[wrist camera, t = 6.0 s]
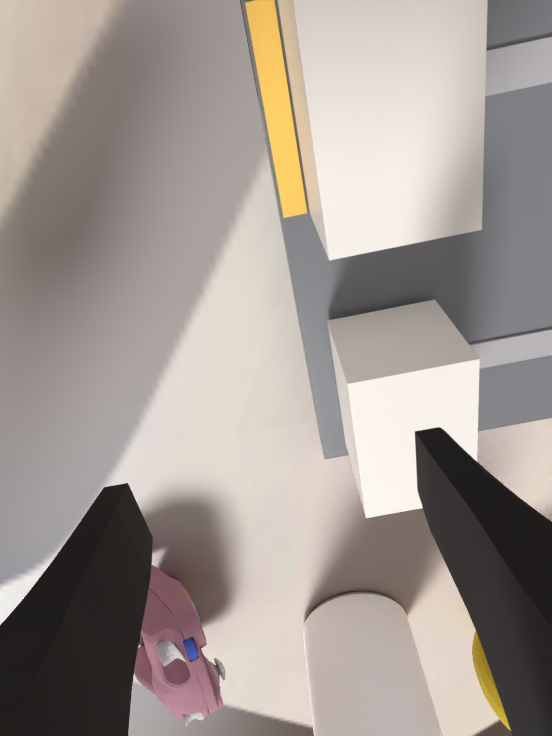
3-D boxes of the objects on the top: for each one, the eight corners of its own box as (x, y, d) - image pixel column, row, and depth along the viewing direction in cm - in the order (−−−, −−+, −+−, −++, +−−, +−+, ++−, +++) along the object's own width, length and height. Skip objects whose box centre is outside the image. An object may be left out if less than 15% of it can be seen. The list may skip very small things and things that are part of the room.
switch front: (424, -39, 14) (488, -63, 10) (431, 189, 17) (481, 229, 14) (276, -5, 14) (290, -18, 11) (310, 214, 17) (329, 260, 14)
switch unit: (656, -132, 15) (698, -149, 13) (577, 389, 24) (598, 410, 23) (233, -36, 15) (233, -42, 14) (320, 437, 25) (325, 460, 23)
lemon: (454, 585, 32) (513, 735, 25) (547, 570, 31) (632, 717, 25) (453, 636, 35) (506, 783, 28) (538, 623, 34) (612, 767, 28)
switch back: (434, 299, 19) (479, 358, 16) (438, 425, 23) (476, 498, 19) (327, 320, 20) (347, 384, 16) (345, 442, 23) (365, 518, 19)
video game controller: (197, 623, 35) (246, 722, 29) (130, 661, 33) (169, 774, 28) (166, 519, 29) (220, 617, 24) (84, 558, 28) (122, 674, 22)
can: (303, 590, 31) (337, 860, 21) (413, 585, 31) (497, 848, 21) (299, 652, 34) (326, 910, 24) (397, 647, 35) (464, 898, 25)
